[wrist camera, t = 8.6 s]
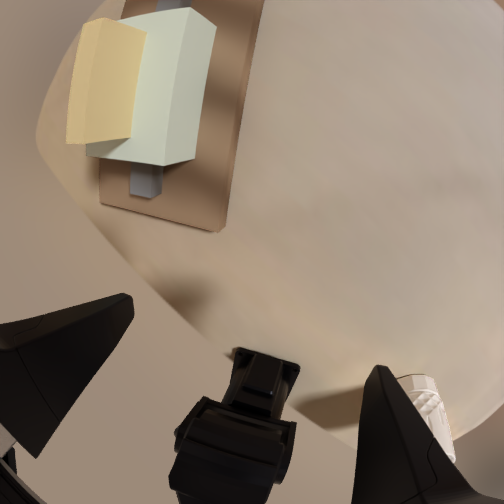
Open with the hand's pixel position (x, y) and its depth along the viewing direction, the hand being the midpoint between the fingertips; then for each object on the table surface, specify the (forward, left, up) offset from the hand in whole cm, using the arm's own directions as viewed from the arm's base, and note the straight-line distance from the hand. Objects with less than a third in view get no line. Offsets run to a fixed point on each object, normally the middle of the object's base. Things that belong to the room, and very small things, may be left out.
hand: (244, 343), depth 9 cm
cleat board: (+9, +11, -13) cm, 19 cm away
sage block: (+9, +11, -11) cm, 18 cm away
